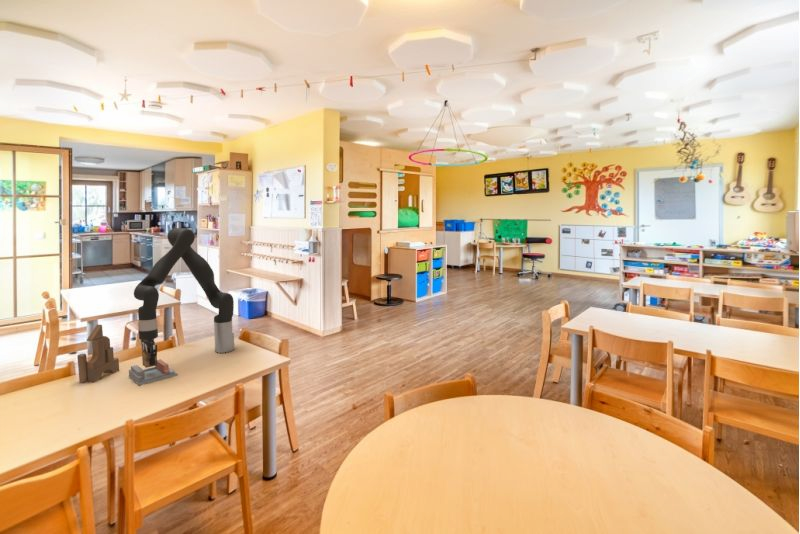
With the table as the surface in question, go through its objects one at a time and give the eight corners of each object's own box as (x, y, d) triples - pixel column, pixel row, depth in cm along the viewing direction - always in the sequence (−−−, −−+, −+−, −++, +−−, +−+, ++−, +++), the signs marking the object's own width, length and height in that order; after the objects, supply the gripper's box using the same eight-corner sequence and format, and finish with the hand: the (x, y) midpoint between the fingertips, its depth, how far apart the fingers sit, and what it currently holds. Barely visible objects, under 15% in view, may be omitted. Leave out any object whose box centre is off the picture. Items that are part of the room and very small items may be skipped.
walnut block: (153, 362, 188) (152, 349, 187) (157, 365, 185) (156, 351, 184) (142, 365, 185) (141, 351, 184) (146, 367, 182) (145, 354, 181)
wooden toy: (107, 369, 193) (103, 319, 189) (119, 370, 192) (116, 320, 188) (77, 382, 177) (72, 329, 174) (90, 384, 176) (86, 330, 173)
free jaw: (159, 366, 195) (159, 358, 194) (170, 374, 186) (169, 365, 186) (155, 367, 193) (154, 359, 192) (165, 375, 185) (165, 366, 184)
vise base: (166, 367, 197) (165, 356, 196) (177, 375, 188) (176, 364, 188) (128, 376, 185) (128, 365, 184) (139, 385, 176) (138, 373, 175)
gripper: (162, 329, 181) (164, 365, 183) (151, 323, 190) (153, 357, 192) (144, 333, 175) (146, 369, 178) (133, 326, 184) (135, 361, 187)
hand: (150, 363), depth 185 cm, fingers closed on walnut block, 5 cm apart
